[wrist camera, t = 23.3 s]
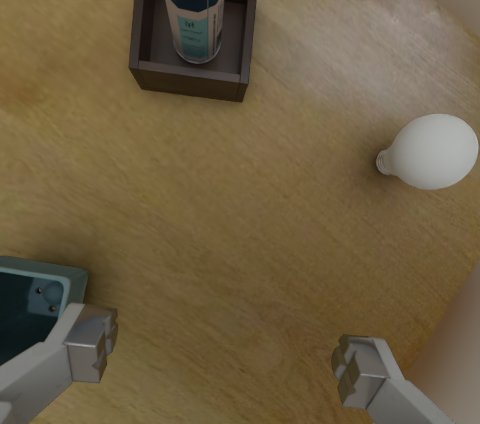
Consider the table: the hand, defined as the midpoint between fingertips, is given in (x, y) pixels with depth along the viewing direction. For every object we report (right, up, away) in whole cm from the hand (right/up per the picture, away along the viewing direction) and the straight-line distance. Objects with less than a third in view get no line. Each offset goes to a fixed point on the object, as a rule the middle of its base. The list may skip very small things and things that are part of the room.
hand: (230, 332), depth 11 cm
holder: (-4, +22, +22) cm, 31 cm away
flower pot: (-19, -4, +21) cm, 28 cm away
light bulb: (+17, +10, +24) cm, 31 cm away
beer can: (-4, +22, +21) cm, 30 cm away
